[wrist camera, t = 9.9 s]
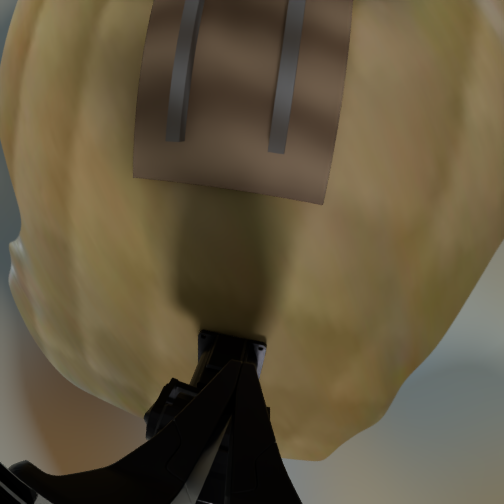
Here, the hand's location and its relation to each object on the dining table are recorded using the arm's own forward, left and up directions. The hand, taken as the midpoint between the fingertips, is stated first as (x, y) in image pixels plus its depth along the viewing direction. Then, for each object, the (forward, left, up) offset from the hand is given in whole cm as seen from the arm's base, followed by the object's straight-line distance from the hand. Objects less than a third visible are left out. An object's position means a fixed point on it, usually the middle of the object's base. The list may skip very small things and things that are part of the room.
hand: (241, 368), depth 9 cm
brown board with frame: (+15, +4, -13) cm, 20 cm away
